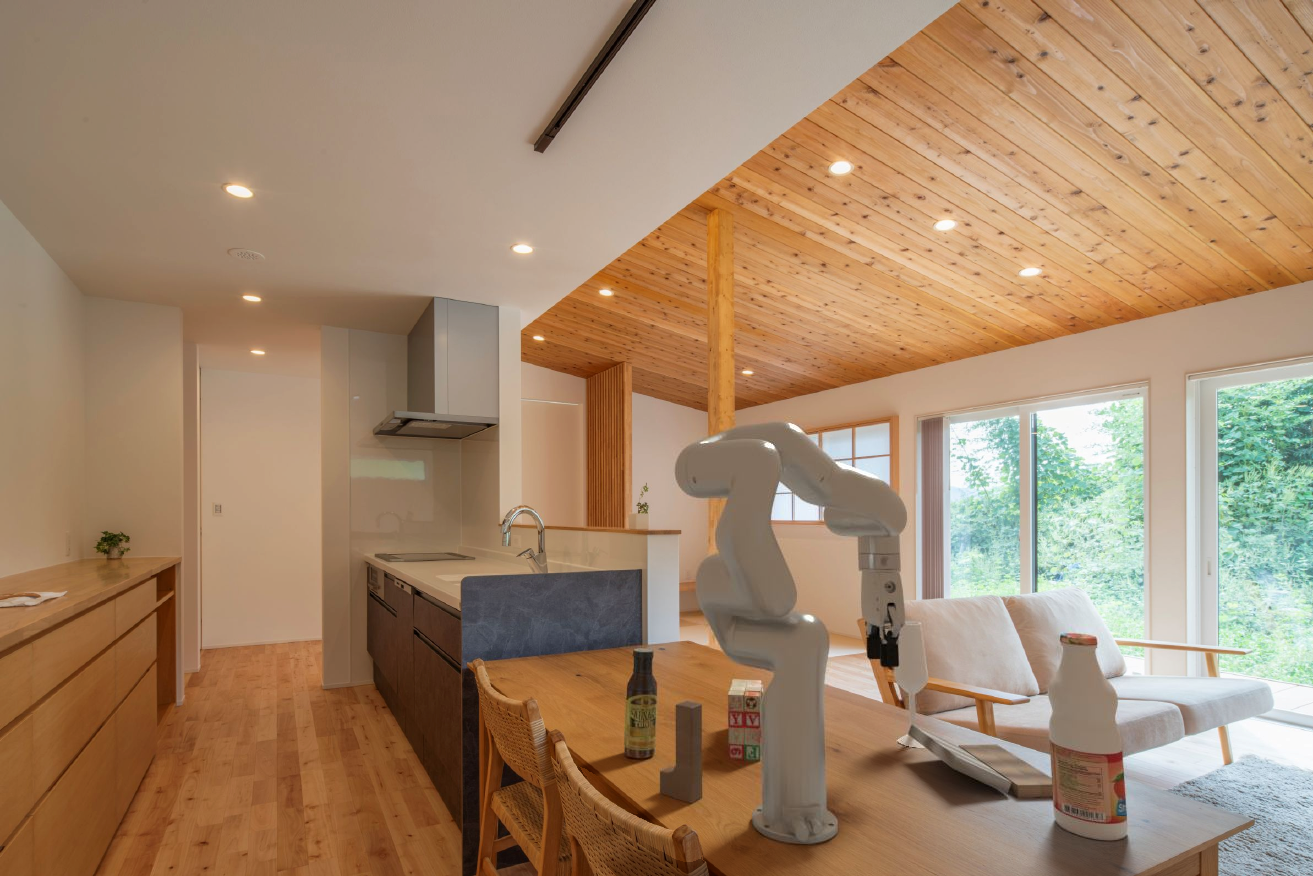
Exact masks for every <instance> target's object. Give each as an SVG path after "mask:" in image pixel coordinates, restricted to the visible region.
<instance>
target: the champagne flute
mask: <svg viewBox="0 0 1313 876" xmlns="http://www.w3.org/2000/svg"><path fill="white" fill-rule="evenodd" d="M923 633H924V632H923V626H922V623H921V622H918V621H913V620H905V626H904V627H901V631H900V635H899V637H898V638H899V644H898V650H899V666H898V667H893V668H894V669H893V670H894V671H893V677H894V679H895V682H896V683H897V684H898V686H899V687H900V688H901V689H903V691H904V692H906V693H907V694H908V706H909V707H908V708H909V709H908V712H909V728H910V727H911V725H914V726H916V727H917V718H916V717H917V716H916V694H918V693H919V692H921V691H922V690H923V688H925V686H926V685H928V681H929V672H928V664H927V657H926V656H927V655H926V649H925V641H924V634H923ZM897 741H898V742H899V743H901V744H904V745H905V746H904V747H906V746H909V747H908V748H910V747H917V748H916V749H926V748H925V747H924V746H923V745H921V744H920V743H919V742H917V741H916V740H915V739H913V738H912V737H911V736H909V735H908V733H907V734H906V735H903V736H901V737H899V738H898V740H896V742H897Z"/></svg>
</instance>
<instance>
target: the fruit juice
mask: <svg viewBox="0 0 1313 876" xmlns="http://www.w3.org/2000/svg"><path fill="white" fill-rule="evenodd" d="M1059 642H1060V645H1061V646H1062V655H1061V656H1062V657H1061V660H1060V663H1059V666H1058V669H1057V671H1056V673H1055V674H1054V675H1053V676H1052V678H1050V681H1049V682H1048V686H1047V697H1048V701H1049V704H1050V706H1051V710H1052V712H1051V715H1050V717H1049V718H1050V719H1049V722H1048V724H1049V725H1048V739H1049V751H1050V752H1049V754H1050V755H1049V756H1050V767H1051V768H1050V770H1051V771H1050V773H1051V778H1052V791H1053V797H1052V803H1053V804H1052V805H1053V807H1052V808H1053V815H1054V819H1055V821H1056V823H1057V825H1058V826H1059V827H1061V828H1062V829H1064V830H1066V831H1067V832H1070V833H1072V834H1074V835H1077V836H1080V837H1083V838H1087V839H1092V840H1099V841H1118V840H1122V839H1123V838H1125V837H1126V836H1127V834H1128V813H1127V810H1128V809H1127V797H1126V785H1125V783H1126V782H1125V770H1124V753H1123V741H1122V735H1121V730H1120V727H1119V725H1118V723H1117V721H1116V714H1117V710H1118V707H1119V706H1118V705H1119V701H1118V694H1117V692H1116V689H1115V688H1114V686H1113V685H1112V683H1111V682H1110V681H1109V680H1108V679H1107V678H1106V677H1105V675H1104V673H1103V671H1102V669H1101V667H1100V664H1099V661H1098V659H1097V658H1098V657H1097V653H1096V652H1097V651H1096V649H1097V648H1098V638H1097V637H1096V636H1094V635H1092V634H1086V633H1077V632H1076V633H1075V632H1073V633H1071V632H1066V633H1060V635H1059Z"/></svg>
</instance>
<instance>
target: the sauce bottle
mask: <svg viewBox="0 0 1313 876" xmlns="http://www.w3.org/2000/svg"><path fill="white" fill-rule="evenodd" d="M632 657H633V668H632V674H631V676H630V677H629V681H628V682H627V683H626V686H627V687H626V698H625V708H624V709H625V711H624V734H623V737H624V738H623V745H624V748H623V749H624V755H625V756H626V757H628V758H631V759H636V760H637V759H640V760H641V759H642V760H643V759H647V758H652V757H653V756H654V755H655V752H656V751H655V750H656V749H655V748H656V746H657V725H658V723H657V722H658V721H657V720H658V719H657V718H658V717H657V716H658V683H657V680H656V678H655V676H654V674H653V672H654V671H653V658H654V650H653V649H651V648H644V647H643V648H642V647H640V648H634V649H633V651H632Z"/></svg>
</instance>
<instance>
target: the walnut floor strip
mask: <svg viewBox="0 0 1313 876" xmlns="http://www.w3.org/2000/svg"><path fill="white" fill-rule="evenodd" d="M958 746H959V747H960V748H962V749H963V750H965V751H966V752H968V753H969V754H971V755H972V756H974V757H975V758H976V759H978V760H979V761H981V762H982V763H984V764H985V765H987V766H988V767H990V768H991V769H993V770H994V771H996V772H997V773H999V774H1000V775H1001V776H1003V777H1004V778H1006V779H1007V780H1009V781H1010V782H1012V783H1011V785H1010V788H1009V791H1008V793H1011V794H1013V796H1015V797H1016V798H1017V799H1027V798H1028V799H1033V798H1035V797H1042V798H1053V791H1052V776H1051V775H1050V776H1049V775H1048V774H1046V773H1045V772H1043V771H1041V770H1040V769H1038V768H1036V767H1035V766H1032V765H1031V764H1030V763H1028V762H1027V761H1025V760H1023V759H1021V758H1020V757H1018V756H1016V755H1015V754H1013V753H1012V752H1010V751H1008V750H1007V749H1005V748H1003V747H1002V746H1000V745H999V744H995V743H994V744H993V743H992V744H991V743H989V744H958Z"/></svg>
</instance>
